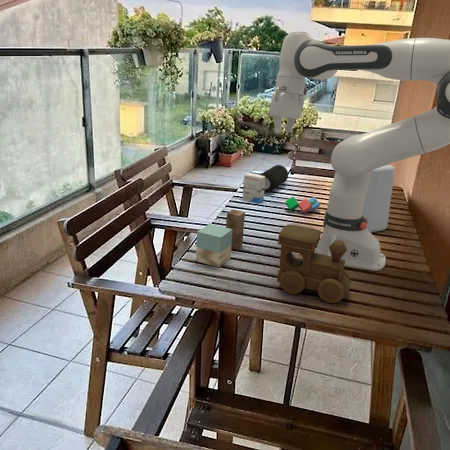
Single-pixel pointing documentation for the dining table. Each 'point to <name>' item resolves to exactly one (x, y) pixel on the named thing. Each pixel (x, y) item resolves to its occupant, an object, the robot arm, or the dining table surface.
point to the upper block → (214, 238)
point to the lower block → (213, 256)
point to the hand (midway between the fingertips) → (283, 132)
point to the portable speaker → (274, 177)
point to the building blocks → (302, 204)
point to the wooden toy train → (312, 264)
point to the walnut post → (236, 227)
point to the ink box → (253, 188)
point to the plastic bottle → (378, 198)
